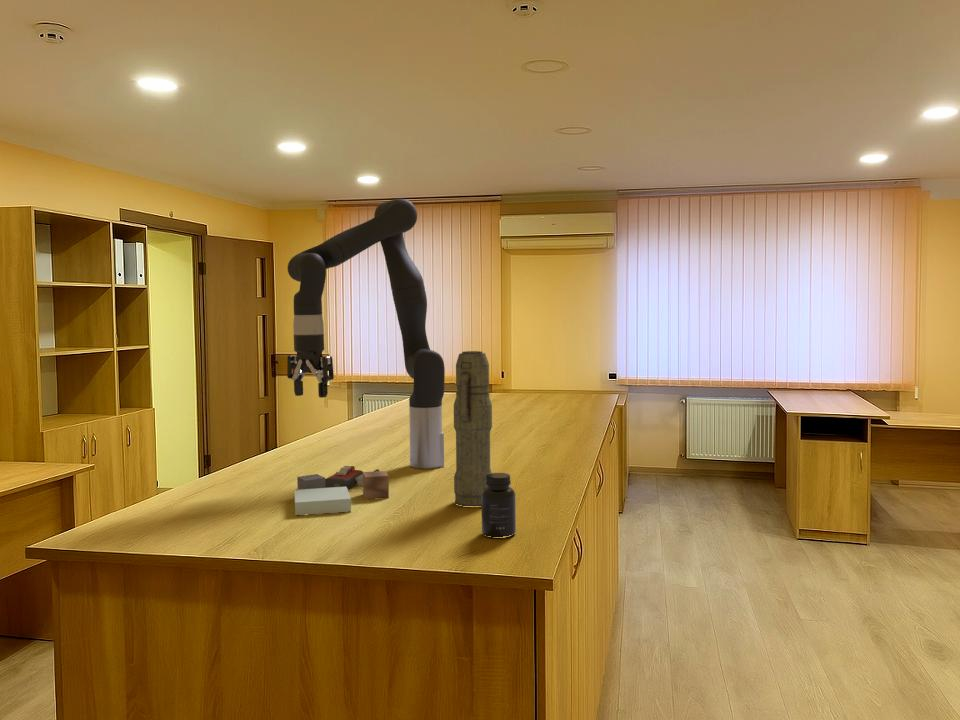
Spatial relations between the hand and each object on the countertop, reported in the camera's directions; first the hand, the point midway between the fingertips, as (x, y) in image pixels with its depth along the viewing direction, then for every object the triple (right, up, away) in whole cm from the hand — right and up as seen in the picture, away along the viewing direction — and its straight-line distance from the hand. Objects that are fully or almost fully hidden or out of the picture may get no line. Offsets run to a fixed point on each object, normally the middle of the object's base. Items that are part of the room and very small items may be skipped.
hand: (310, 396), depth 196 cm
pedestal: (+7, -24, -21) cm, 33 cm away
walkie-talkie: (+10, -23, +4) cm, 25 cm away
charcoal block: (+3, -24, -12) cm, 27 cm away
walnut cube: (+18, -24, -11) cm, 32 cm away
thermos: (+42, -24, -18) cm, 51 cm away
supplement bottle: (+47, -26, -43) cm, 68 cm away
